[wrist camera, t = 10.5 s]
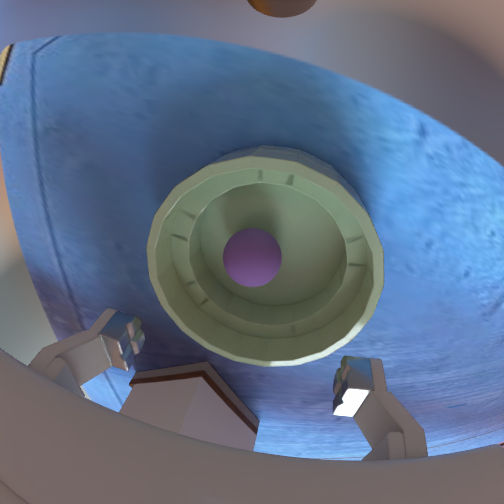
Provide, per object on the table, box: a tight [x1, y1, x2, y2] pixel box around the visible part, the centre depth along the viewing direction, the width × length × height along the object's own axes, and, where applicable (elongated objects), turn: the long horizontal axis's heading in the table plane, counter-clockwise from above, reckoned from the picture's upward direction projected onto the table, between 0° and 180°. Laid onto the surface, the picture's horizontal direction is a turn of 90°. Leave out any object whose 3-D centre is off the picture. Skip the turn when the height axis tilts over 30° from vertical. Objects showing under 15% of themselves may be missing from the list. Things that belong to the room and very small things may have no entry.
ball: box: [223, 228, 282, 287], centre depth 18 cm, size 4×4×4 cm
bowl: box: [146, 145, 384, 367], centre depth 18 cm, size 13×13×5 cm
